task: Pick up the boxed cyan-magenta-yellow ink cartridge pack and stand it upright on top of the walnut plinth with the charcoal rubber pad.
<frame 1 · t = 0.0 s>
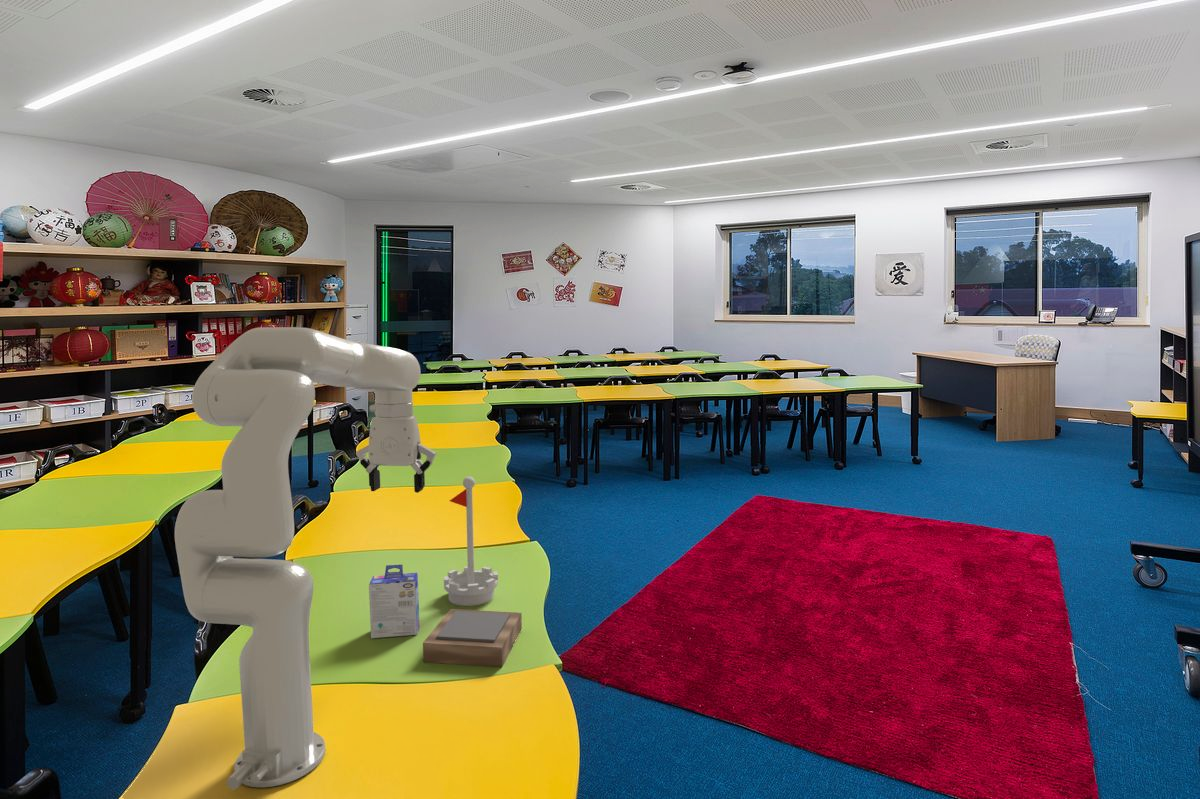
hand: (397, 490, 145), 31 cm above the table, tool pointing down, fingers open, 9 cm apart
ink cartridge box: (396, 632, 148), on the table
walnut plinth: (475, 645, 141), on the table
flag stand: (471, 597, 166), on the table
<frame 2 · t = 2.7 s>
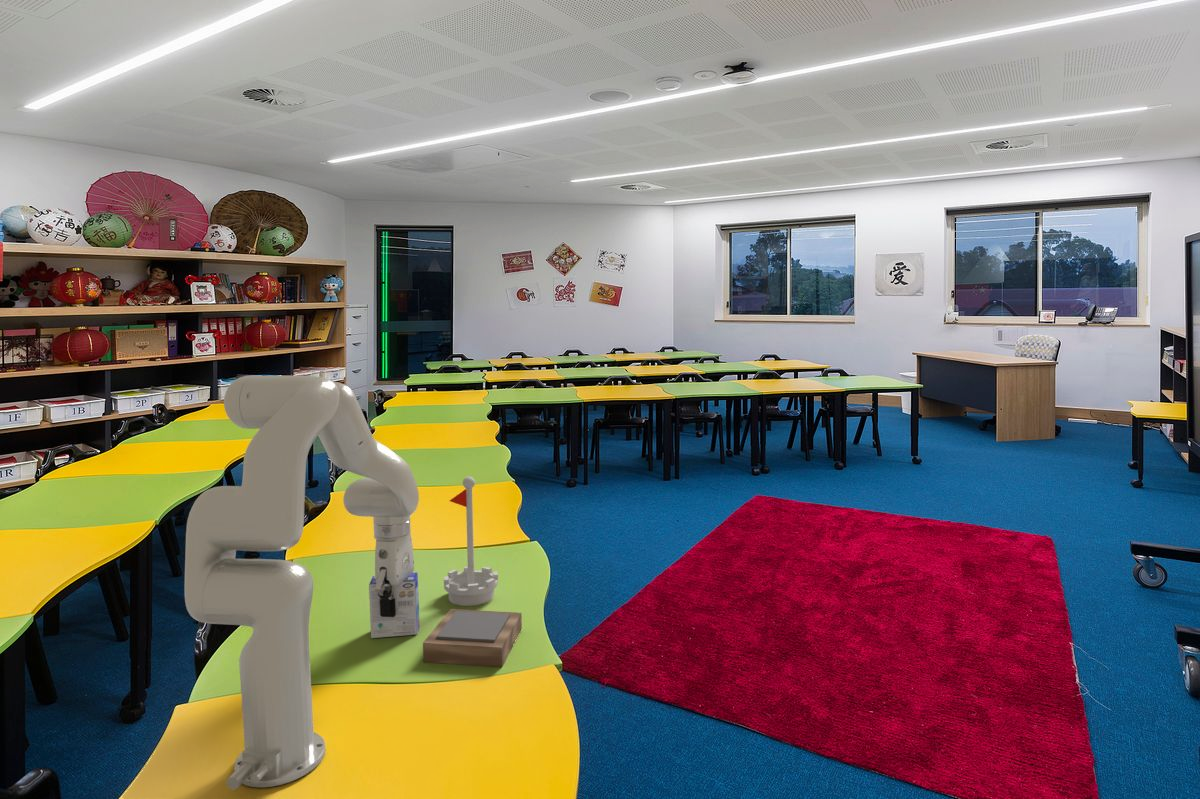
hand: (395, 608, 147), 5 cm above the table, tool pointing down, fingers closed on ink cartridge box, 6 cm apart
ink cartridge box: (396, 632, 148), on the table, touching gripper
everything else where it was.
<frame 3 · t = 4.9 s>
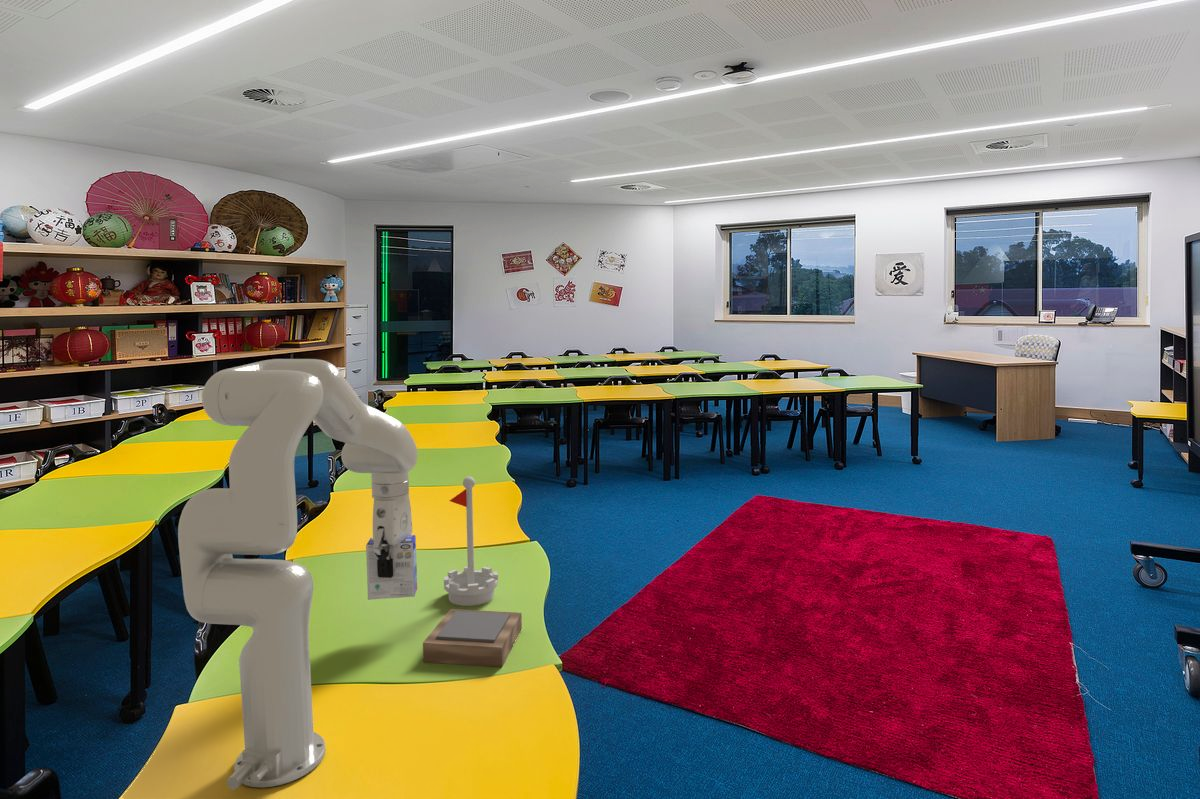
hand: (392, 570, 145), 14 cm above the table, tool pointing down, fingers closed on ink cartridge box, 6 cm apart
ink cartridge box: (393, 595, 146), point 8 cm above the table, touching gripper
everything else where it was.
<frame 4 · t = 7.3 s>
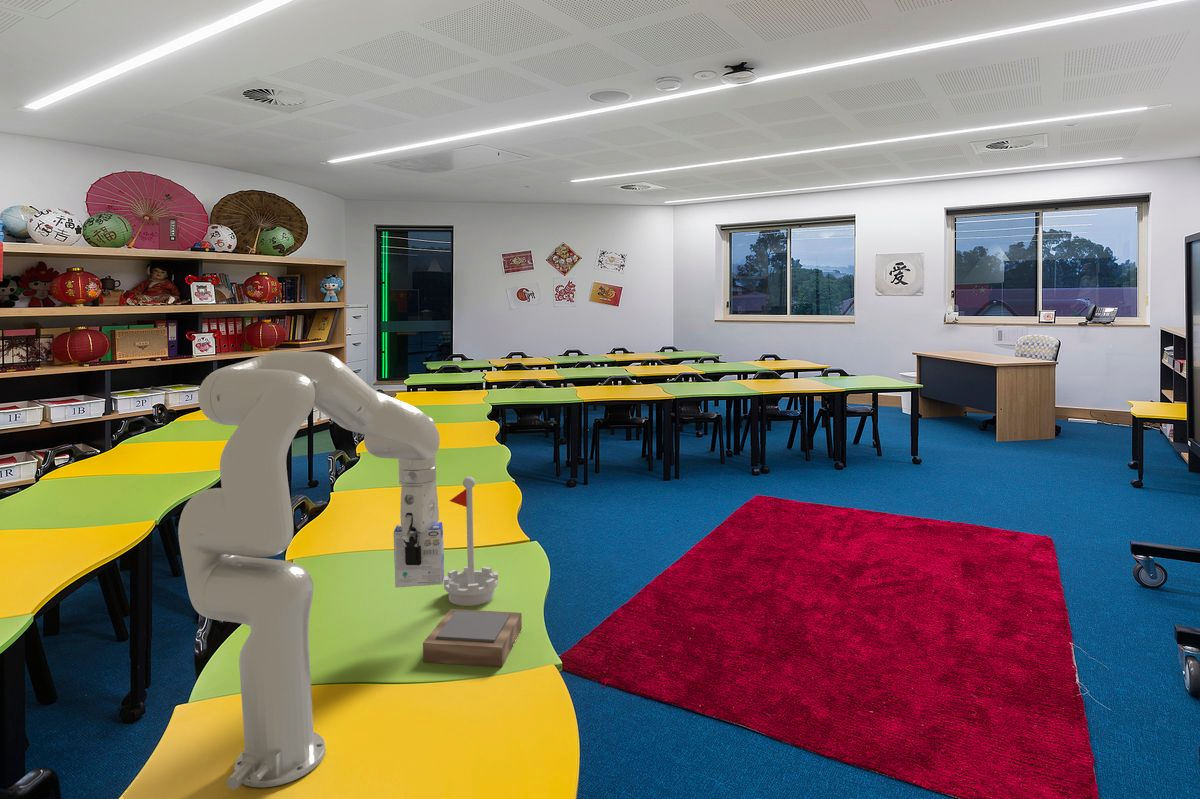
hand: (420, 558, 143), 17 cm above the table, tool pointing down, fingers closed on ink cartridge box, 6 cm apart
ink cartridge box: (420, 583, 144), point 12 cm above the table, touching gripper
everything else where it was.
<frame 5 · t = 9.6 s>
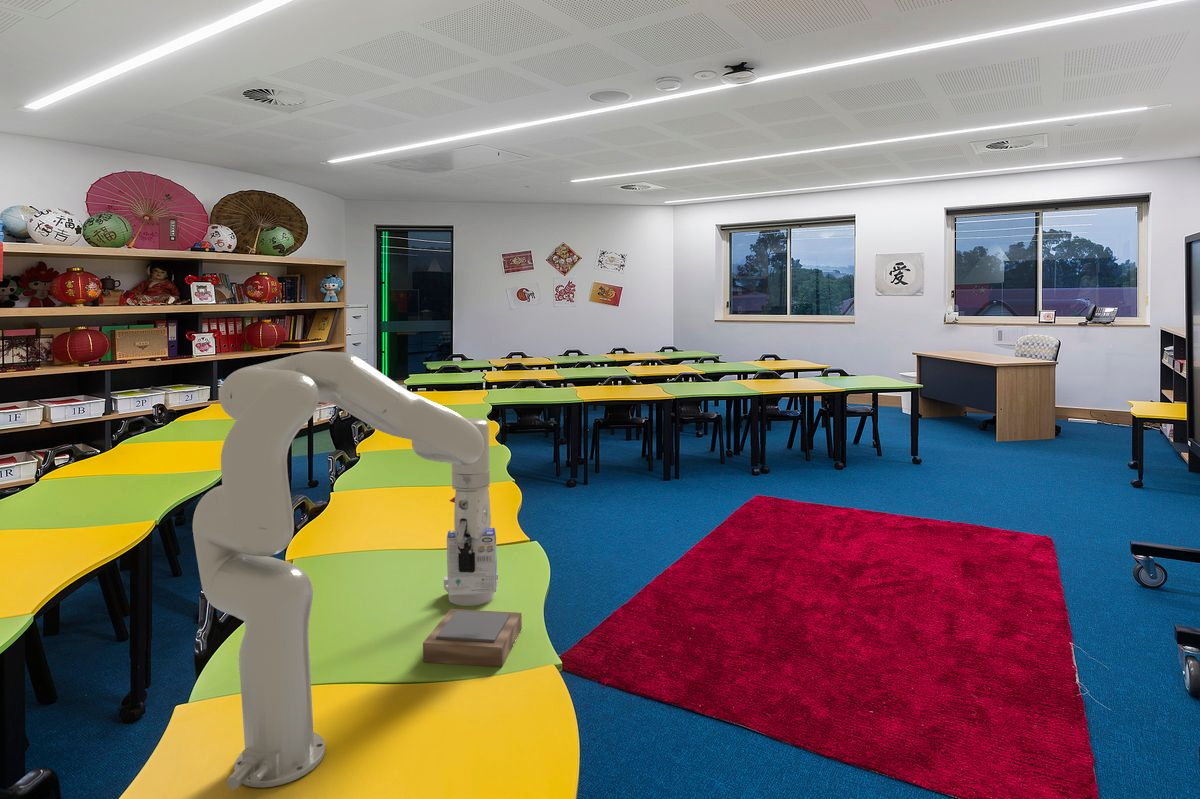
hand: (472, 564, 139), 17 cm above the table, tool pointing down, fingers closed on ink cartridge box, 6 cm apart
ink cartridge box: (472, 590, 140), point 12 cm above the table, touching gripper
everything else where it was.
when the fingers open (10 cm above the table, at t = 11.7 s): ink cartridge box stays where it is, resting on walnut plinth.
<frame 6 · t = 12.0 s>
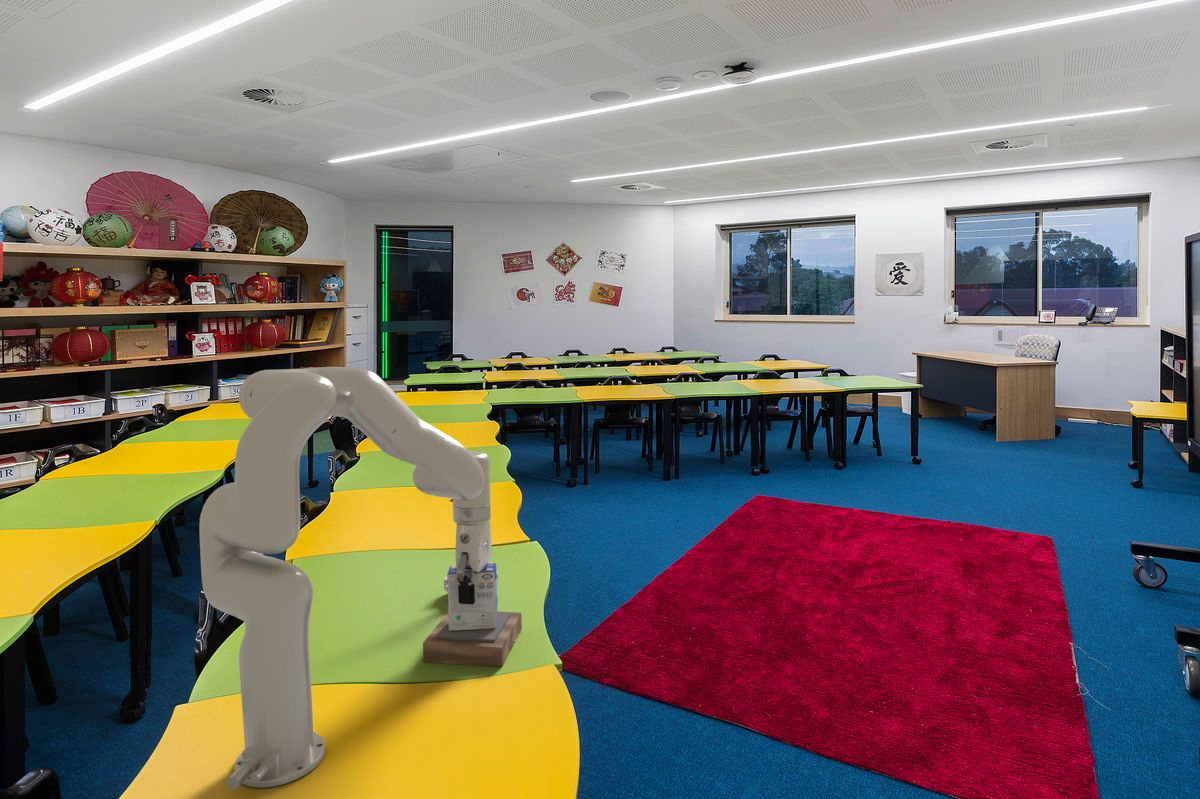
hand: (473, 594, 140), 11 cm above the table, tool pointing down, fingers open, 8 cm apart
ink cartridge box: (473, 625, 141), point 4 cm above the table, touching walnut plinth
everything else where it was.
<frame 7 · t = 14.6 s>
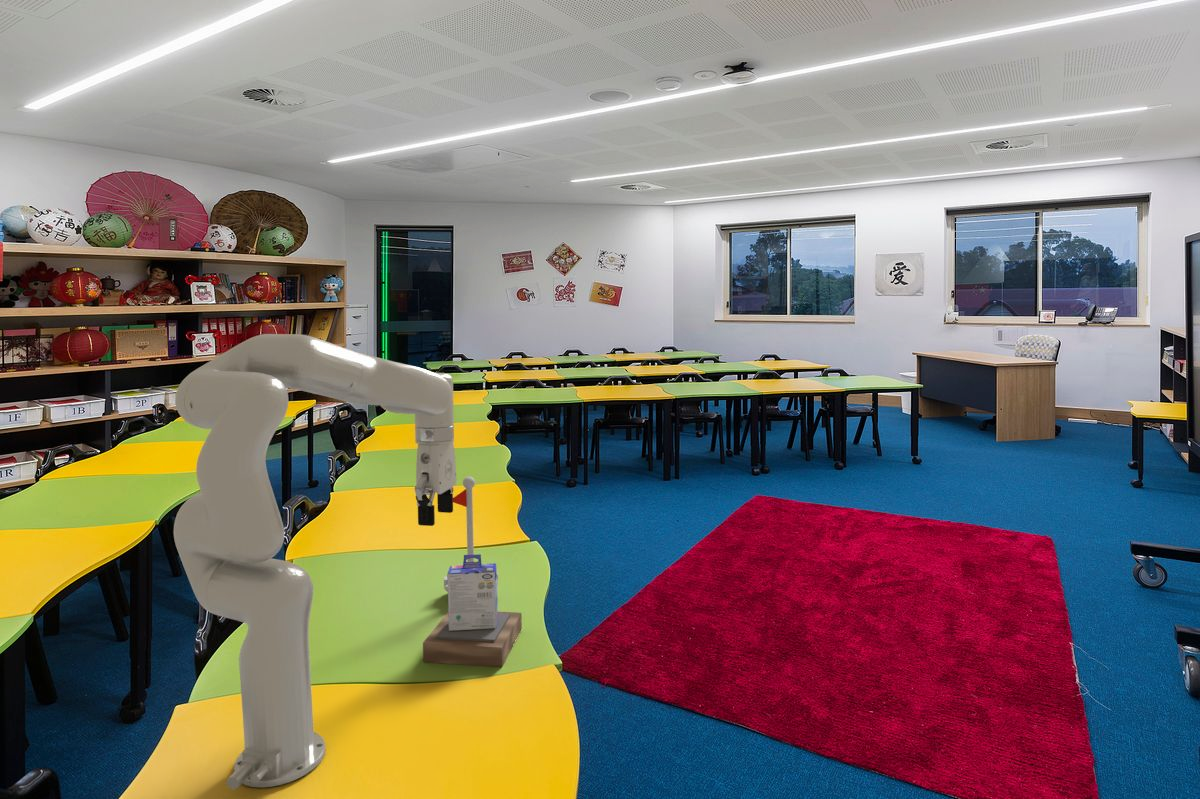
hand: (436, 518, 137), 27 cm above the table, tool pointing down, fingers open, 9 cm apart
nothing on the table moved.
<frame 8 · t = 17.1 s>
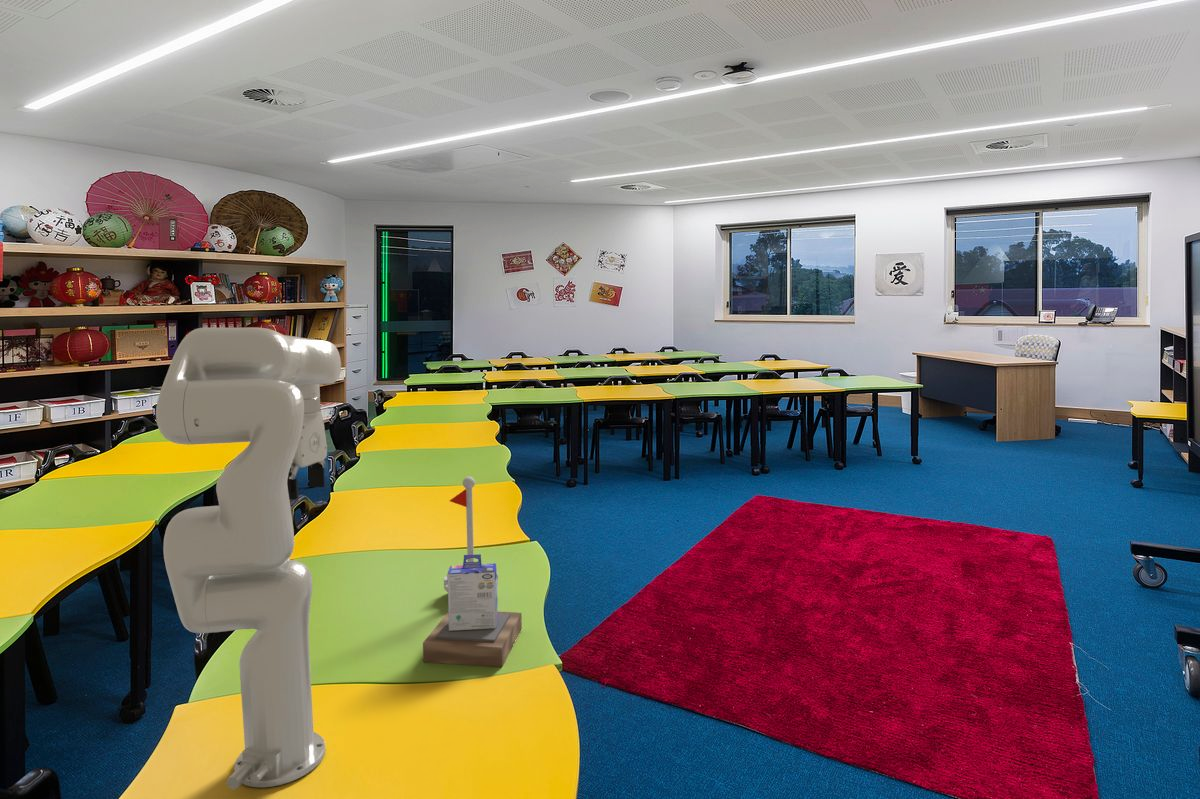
hand: (304, 492, 134), 33 cm above the table, tool pointing down, fingers open, 9 cm apart
nothing on the table moved.
at the end: ink cartridge box inside the target area on the walnut plinth (0.1 cm from its centre), point 4.3 cm above the walnut plinth's base; ink cartridge box tilted 0°; the gripper is holding nothing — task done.
